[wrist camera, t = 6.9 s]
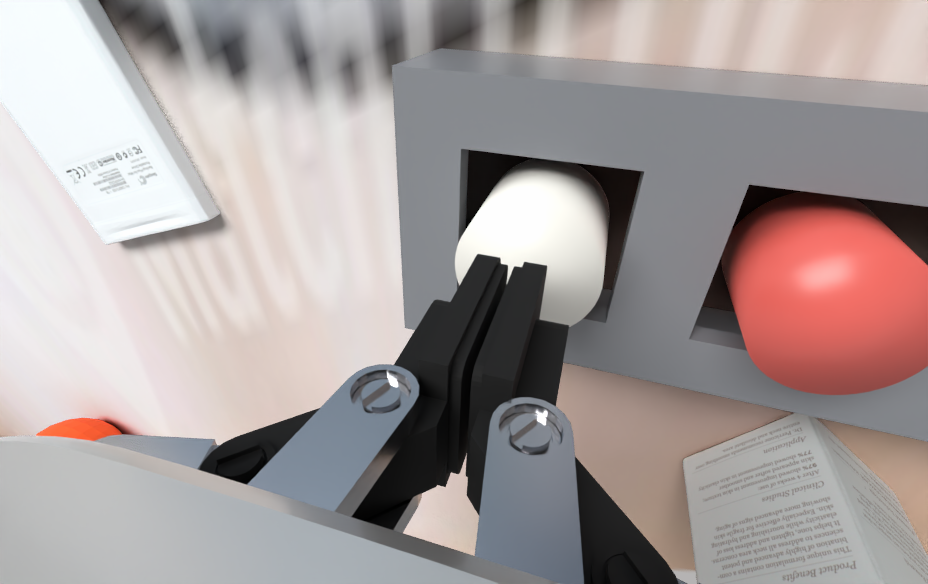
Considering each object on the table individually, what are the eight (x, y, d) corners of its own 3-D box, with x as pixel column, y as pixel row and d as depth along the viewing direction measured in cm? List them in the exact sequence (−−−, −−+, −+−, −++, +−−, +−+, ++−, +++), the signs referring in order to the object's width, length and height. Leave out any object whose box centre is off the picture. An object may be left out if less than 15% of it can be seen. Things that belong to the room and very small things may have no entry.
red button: (914, 202, 12) (1005, 273, 9) (841, 321, 15) (896, 410, 12) (749, 181, 13) (783, 241, 10) (704, 297, 16) (721, 375, 13)
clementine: (61, 412, 40) (-33, 483, 35) (71, 377, 36) (-32, 451, 31) (140, 467, 42) (63, 544, 36) (159, 439, 38) (75, 521, 32)
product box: (758, 526, 24) (799, 706, 18) (677, 454, 23) (693, 620, 17) (897, 490, 20) (1006, 699, 14) (809, 403, 19) (887, 590, 13)
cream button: (622, 166, 14) (619, 216, 11) (596, 278, 16) (588, 346, 13) (492, 149, 15) (456, 193, 12) (485, 258, 17) (453, 318, 14)
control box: (1449, 125, 11) (1802, 188, 7) (1122, 402, 16) (1248, 511, 12) (440, 48, 16) (391, 65, 13) (439, 274, 21) (405, 327, 18)
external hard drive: (57, -97, 18) (229, 209, 23) (-49, -18, 21) (125, 234, 26) (11, -103, 16) (205, 223, 22) (-94, -17, 20) (99, 247, 25)
